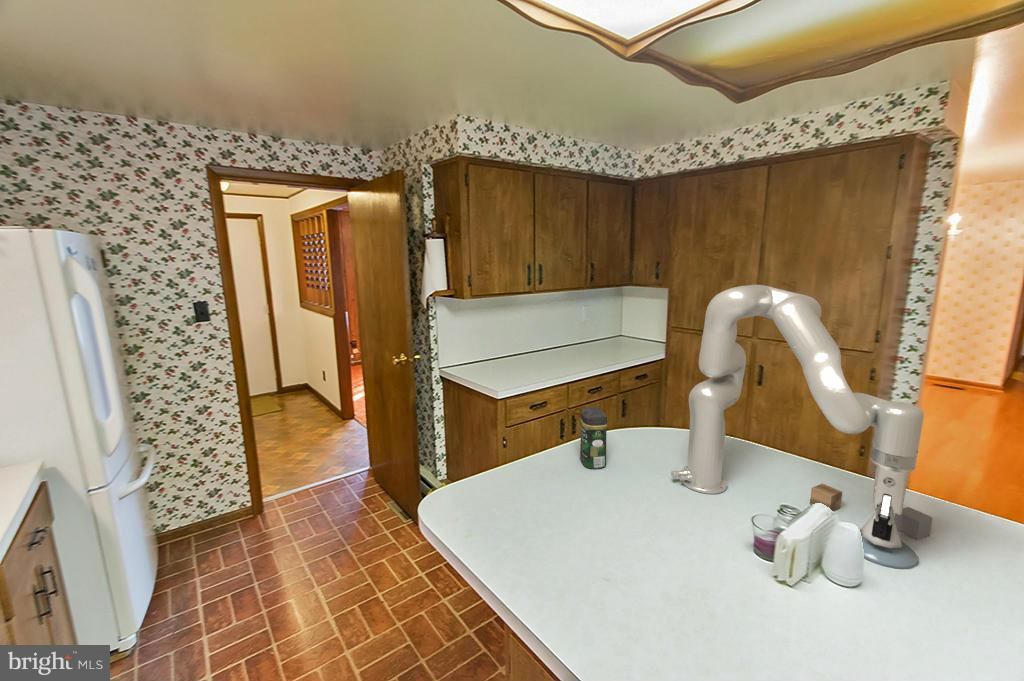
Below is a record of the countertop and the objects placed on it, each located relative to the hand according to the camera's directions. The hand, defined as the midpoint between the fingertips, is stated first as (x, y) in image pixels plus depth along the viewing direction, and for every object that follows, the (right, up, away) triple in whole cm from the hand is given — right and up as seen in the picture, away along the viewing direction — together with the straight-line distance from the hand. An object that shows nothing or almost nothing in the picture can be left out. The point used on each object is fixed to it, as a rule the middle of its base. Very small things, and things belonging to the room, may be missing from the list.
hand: (881, 531), depth 101 cm
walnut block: (0, -1, +19) cm, 19 cm away
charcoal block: (+13, -3, +7) cm, 15 cm away
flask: (0, -2, 0) cm, 2 cm away
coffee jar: (-58, +3, +45) cm, 73 cm away
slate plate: (0, -5, +1) cm, 5 cm away
